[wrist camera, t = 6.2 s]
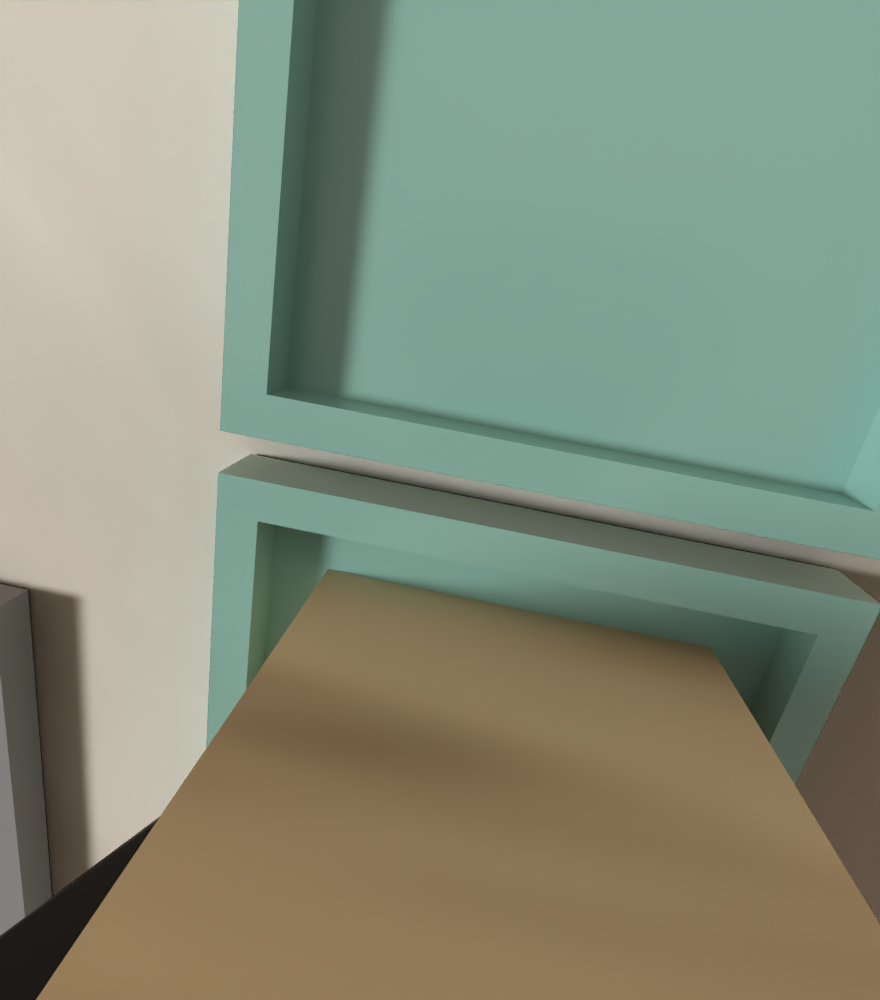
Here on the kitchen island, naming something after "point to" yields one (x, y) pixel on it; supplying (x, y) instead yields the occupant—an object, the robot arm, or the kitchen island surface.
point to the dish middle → (528, 584)
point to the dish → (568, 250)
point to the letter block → (480, 827)
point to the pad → (20, 769)
